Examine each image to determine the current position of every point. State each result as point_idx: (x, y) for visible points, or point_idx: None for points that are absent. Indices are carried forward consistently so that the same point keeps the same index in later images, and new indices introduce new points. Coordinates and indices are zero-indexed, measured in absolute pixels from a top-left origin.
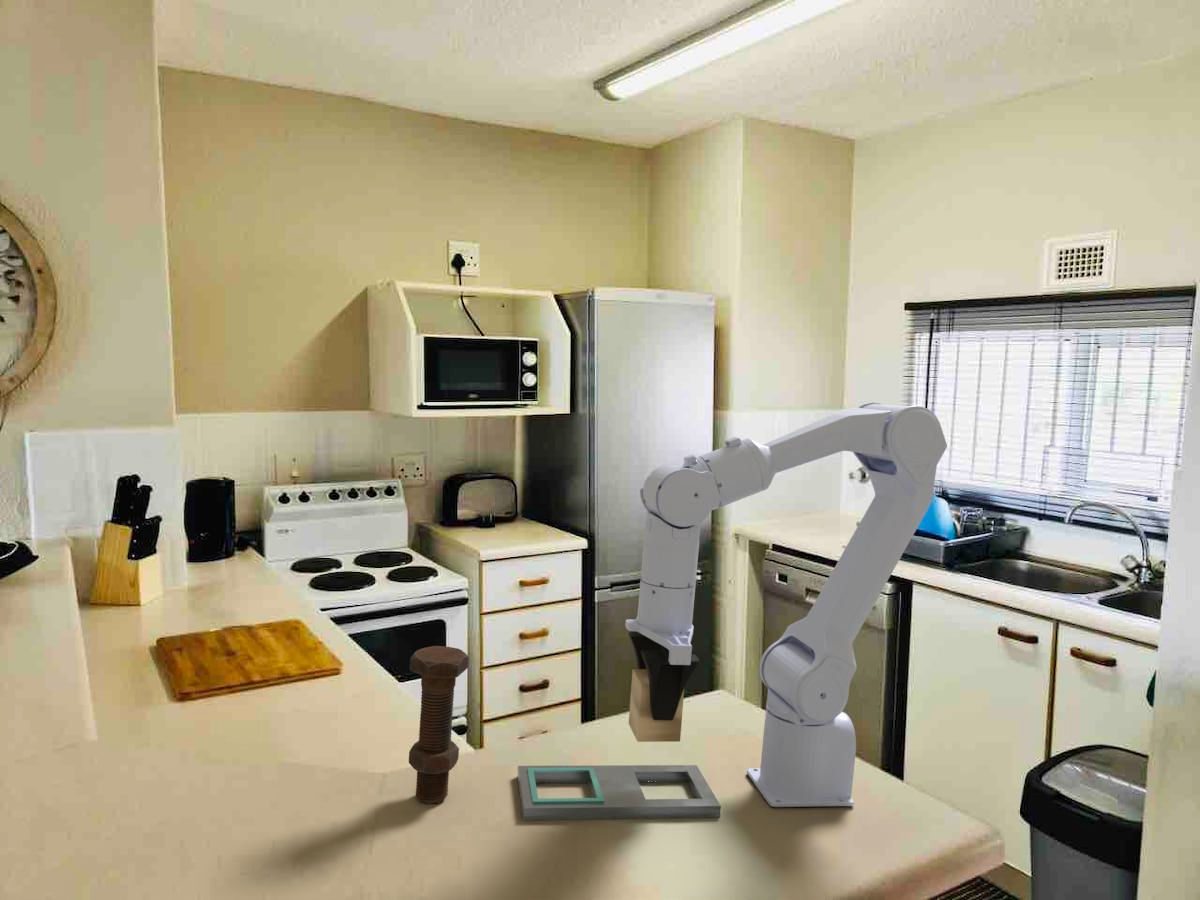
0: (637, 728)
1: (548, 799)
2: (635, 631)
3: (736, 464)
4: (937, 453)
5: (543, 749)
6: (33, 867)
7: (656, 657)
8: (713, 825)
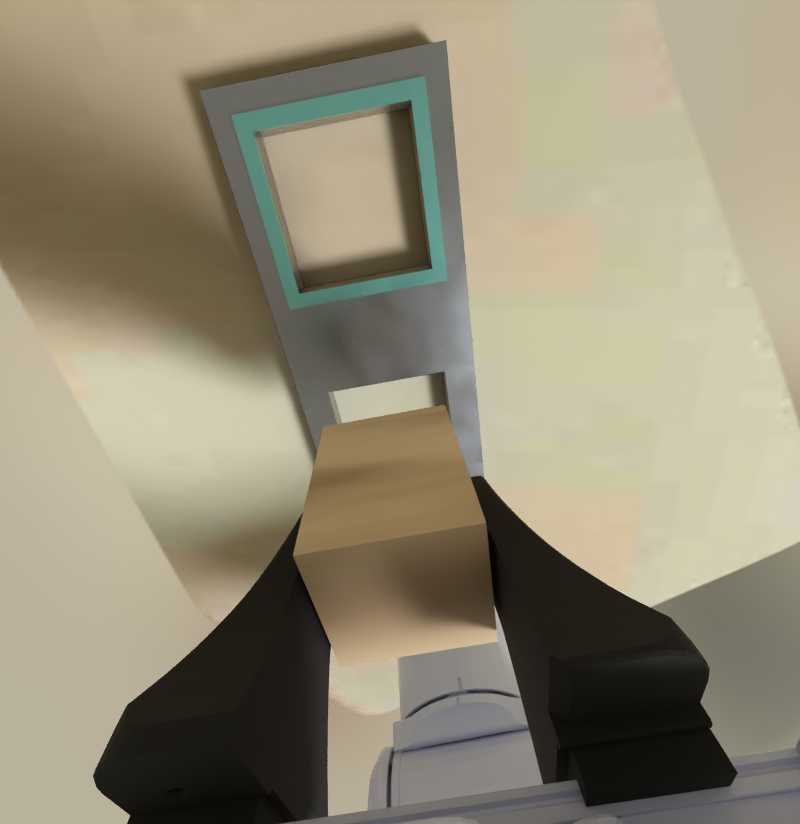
0: (328, 443)
1: (255, 163)
2: (687, 680)
3: None
4: None
5: (609, 127)
6: None
7: (113, 793)
8: (309, 484)
